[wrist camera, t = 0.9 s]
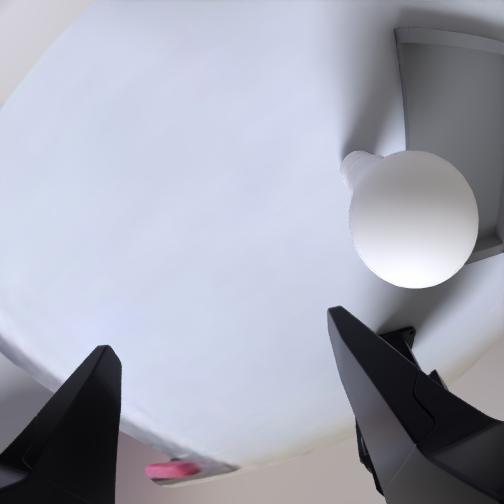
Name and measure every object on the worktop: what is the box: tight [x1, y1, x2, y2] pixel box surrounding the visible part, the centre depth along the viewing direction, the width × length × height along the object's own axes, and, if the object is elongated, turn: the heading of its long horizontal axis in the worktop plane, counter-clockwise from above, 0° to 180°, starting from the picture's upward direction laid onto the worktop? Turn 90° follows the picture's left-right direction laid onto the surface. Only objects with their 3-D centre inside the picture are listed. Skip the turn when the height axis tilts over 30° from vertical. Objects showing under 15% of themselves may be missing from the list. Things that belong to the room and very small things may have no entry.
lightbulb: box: [340, 151, 479, 288], centre depth 15 cm, size 6×6×11 cm
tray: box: [394, 27, 504, 265], centre depth 19 cm, size 18×11×2 cm, turn 11°
